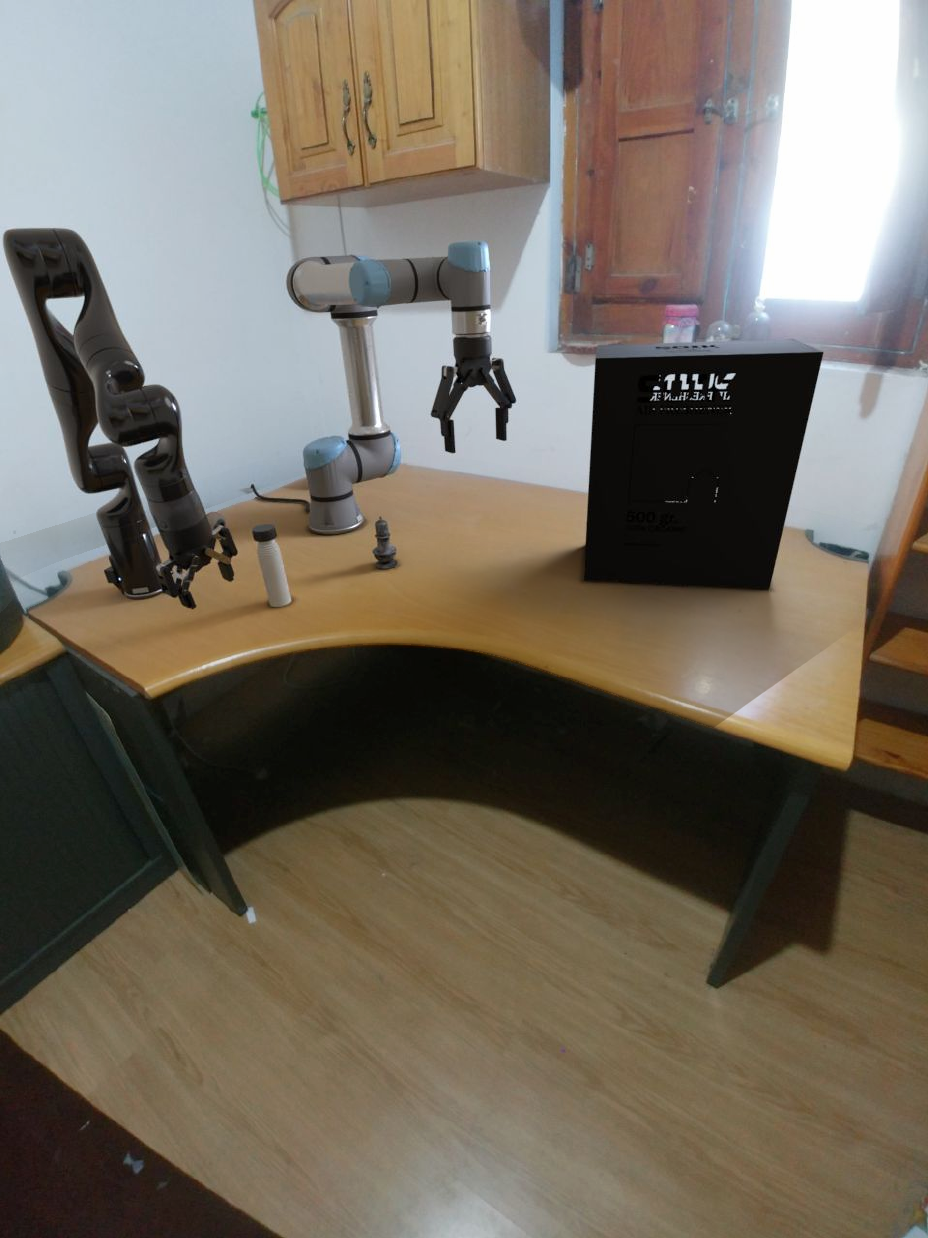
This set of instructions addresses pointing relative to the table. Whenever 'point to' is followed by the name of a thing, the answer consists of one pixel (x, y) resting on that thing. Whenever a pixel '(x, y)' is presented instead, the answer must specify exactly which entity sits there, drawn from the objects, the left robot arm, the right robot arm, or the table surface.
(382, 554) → the grey tall turned piece
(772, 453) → the cardboard box
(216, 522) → the eyeball
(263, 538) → the cap
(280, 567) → the bottle
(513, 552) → the table surface
